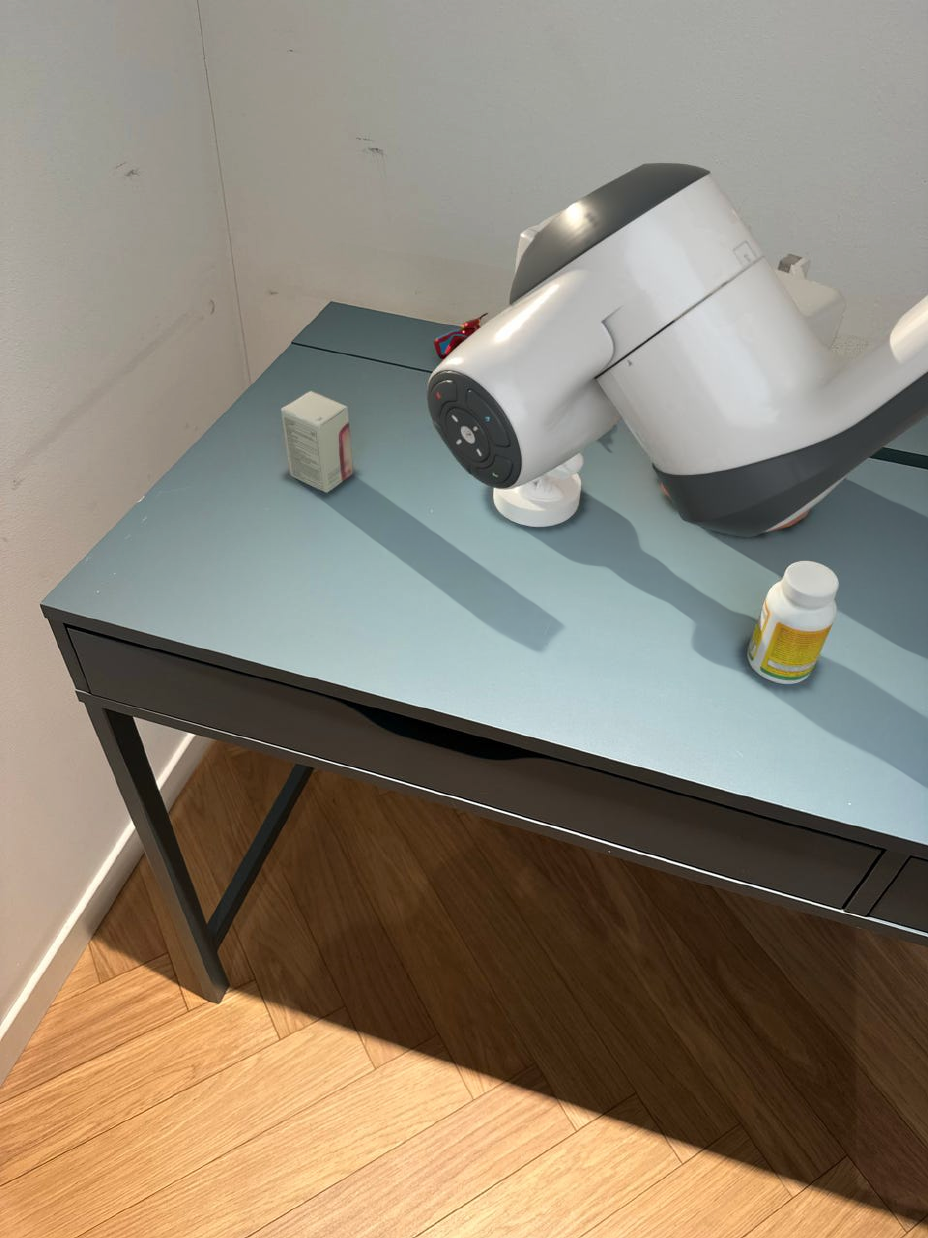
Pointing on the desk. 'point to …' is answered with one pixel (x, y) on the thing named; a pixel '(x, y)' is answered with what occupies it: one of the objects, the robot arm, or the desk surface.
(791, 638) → the supplement bottle
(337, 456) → the small box
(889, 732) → the desk surface
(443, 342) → the hoverbike
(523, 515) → the character figurine
